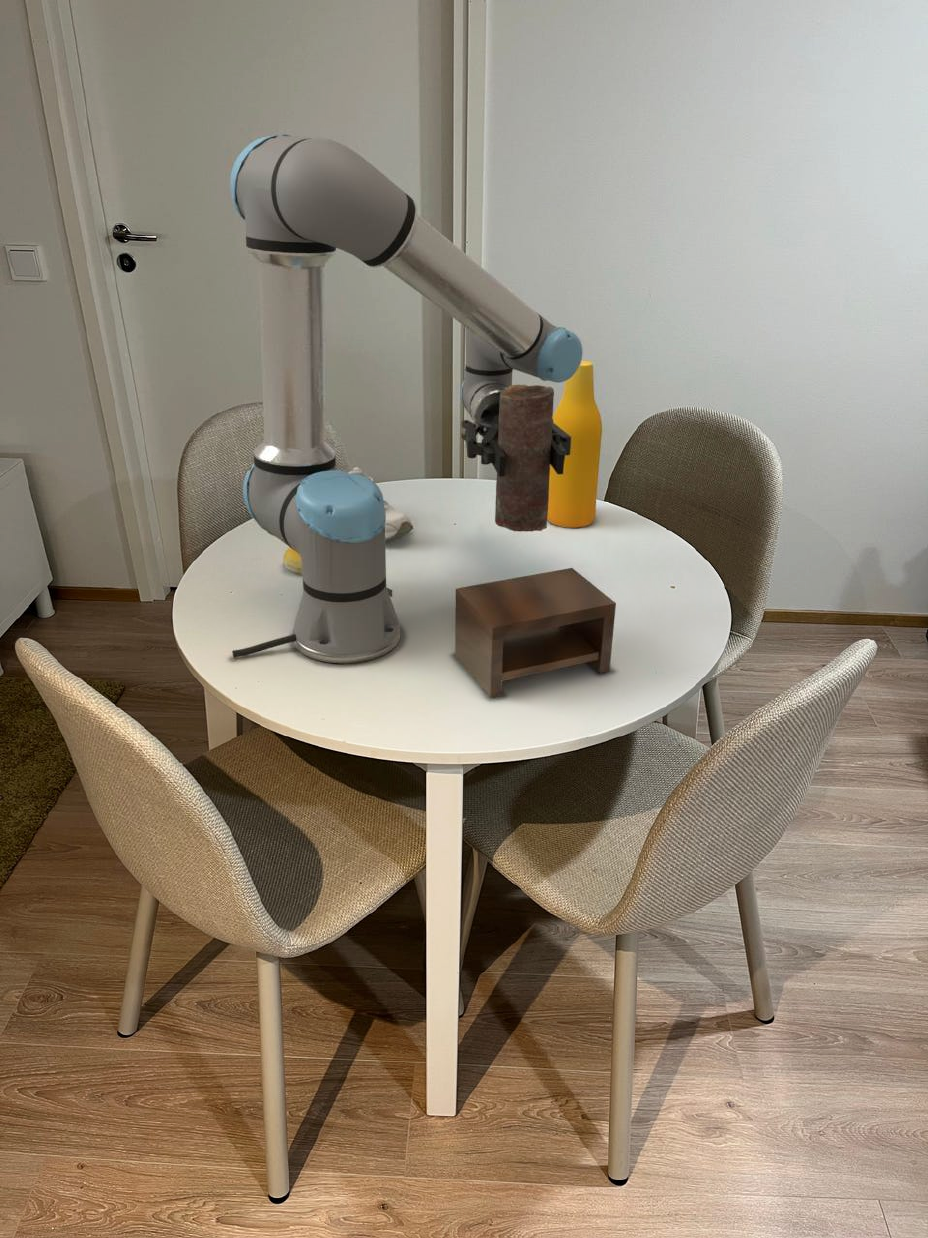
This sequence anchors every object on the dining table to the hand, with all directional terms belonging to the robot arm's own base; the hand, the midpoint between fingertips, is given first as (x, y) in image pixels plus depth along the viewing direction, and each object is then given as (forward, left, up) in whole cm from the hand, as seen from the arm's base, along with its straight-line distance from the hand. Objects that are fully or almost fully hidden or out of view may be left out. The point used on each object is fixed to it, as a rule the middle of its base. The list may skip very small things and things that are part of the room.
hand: (531, 465), depth 128 cm
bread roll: (-21, +37, -27) cm, 50 cm away
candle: (+1, +5, -11) cm, 12 cm away
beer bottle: (+29, +39, -27) cm, 56 cm away
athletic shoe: (-8, +49, -27) cm, 57 cm away
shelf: (-1, -5, -27) cm, 27 cm away
